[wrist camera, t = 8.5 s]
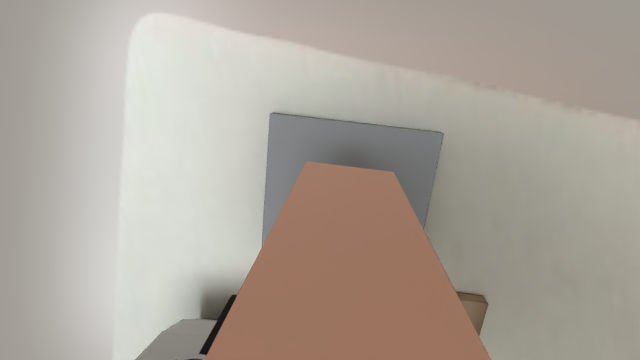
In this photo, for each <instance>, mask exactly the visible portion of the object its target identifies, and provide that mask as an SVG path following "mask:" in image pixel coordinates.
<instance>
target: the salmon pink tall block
mask: <svg viewBox="0 0 640 360" xmlns="http://www.w3.org/2000/svg"><path fill="white" fill-rule="evenodd" d="M204 360H491V359H490V357H489V355H488V353H487V351H486V349H485V347H484V345H483V343H482V341H481V340H480V338H479V336H478V334H477V332H476V330H475V328H474V326H473V324H472V322H471V320H470V318H469V316H468V315H467V313H466V311H465V309H464V307H463V305H462V303H461V301H460V299H459V297H458V295H457V293H456V291H455V289H454V288H453V286H452V284H451V282H450V280H449V278H448V276H447V274H446V272H445V270H444V268H443V266H442V264H441V262H440V261H439V259H438V257H437V255H436V253H435V251H434V249H433V247H432V245H431V243H430V241H429V239H428V237H427V235H426V234H425V232H424V230H423V228H422V226H421V224H420V222H419V220H418V218H417V216H416V214H415V212H414V210H413V208H412V207H411V205H410V203H409V201H408V199H407V197H406V195H405V193H404V191H403V189H402V187H401V185H400V183H399V182H398V180H397V178H396V176H395V174H394V172H390V171H382V170H374V169H366V168H357V167H349V166H341V165H333V164H325V163H316V162H308V161H306V163H305V165H304V167H303V169H302V171H301V173H300V175H299V176H298V178H297V180H296V182H295V184H294V186H293V188H292V190H291V192H290V194H289V196H288V198H287V200H286V202H285V204H284V206H283V208H282V210H281V211H280V213H279V215H278V217H277V219H276V221H275V223H274V225H273V227H272V229H271V231H270V233H269V235H268V237H267V239H266V241H265V243H264V245H263V247H262V248H261V250H260V252H259V254H258V256H257V258H256V260H255V262H254V264H253V266H252V268H251V270H250V272H249V274H248V276H247V278H246V280H245V282H244V283H243V285H242V287H241V289H240V291H239V293H238V295H237V297H236V299H235V301H234V303H233V305H232V307H231V309H230V311H229V313H228V315H227V317H226V319H225V320H224V322H223V324H222V326H221V328H220V330H219V332H218V334H217V336H216V338H215V340H214V342H213V344H212V346H211V348H210V350H209V352H208V354H207V355H206V357H205V359H204Z"/></svg>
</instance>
